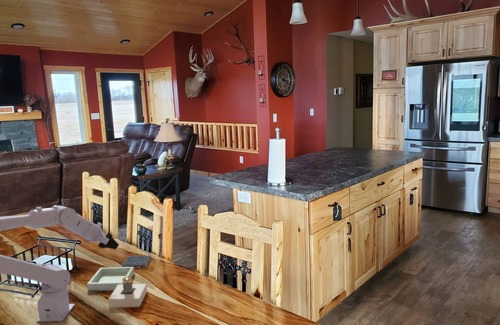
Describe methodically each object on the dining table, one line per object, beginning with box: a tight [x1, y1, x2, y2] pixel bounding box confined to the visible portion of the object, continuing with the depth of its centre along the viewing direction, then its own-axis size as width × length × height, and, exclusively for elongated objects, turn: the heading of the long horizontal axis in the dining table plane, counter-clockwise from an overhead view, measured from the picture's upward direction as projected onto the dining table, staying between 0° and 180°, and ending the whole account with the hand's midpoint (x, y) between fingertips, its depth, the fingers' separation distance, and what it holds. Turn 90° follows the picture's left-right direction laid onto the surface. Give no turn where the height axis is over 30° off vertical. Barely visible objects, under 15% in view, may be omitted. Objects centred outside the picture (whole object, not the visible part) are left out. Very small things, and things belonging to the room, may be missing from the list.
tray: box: [86, 266, 135, 292], centre depth 145 cm, size 13×13×3 cm
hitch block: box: [107, 283, 148, 309], centre depth 132 cm, size 10×10×3 cm
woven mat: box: [121, 254, 153, 270], centre depth 161 cm, size 10×11×2 cm
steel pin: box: [122, 277, 133, 294], centre depth 132 cm, size 3×3×8 cm
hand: (111, 243), depth 141 cm, fingers open, 7 cm apart
